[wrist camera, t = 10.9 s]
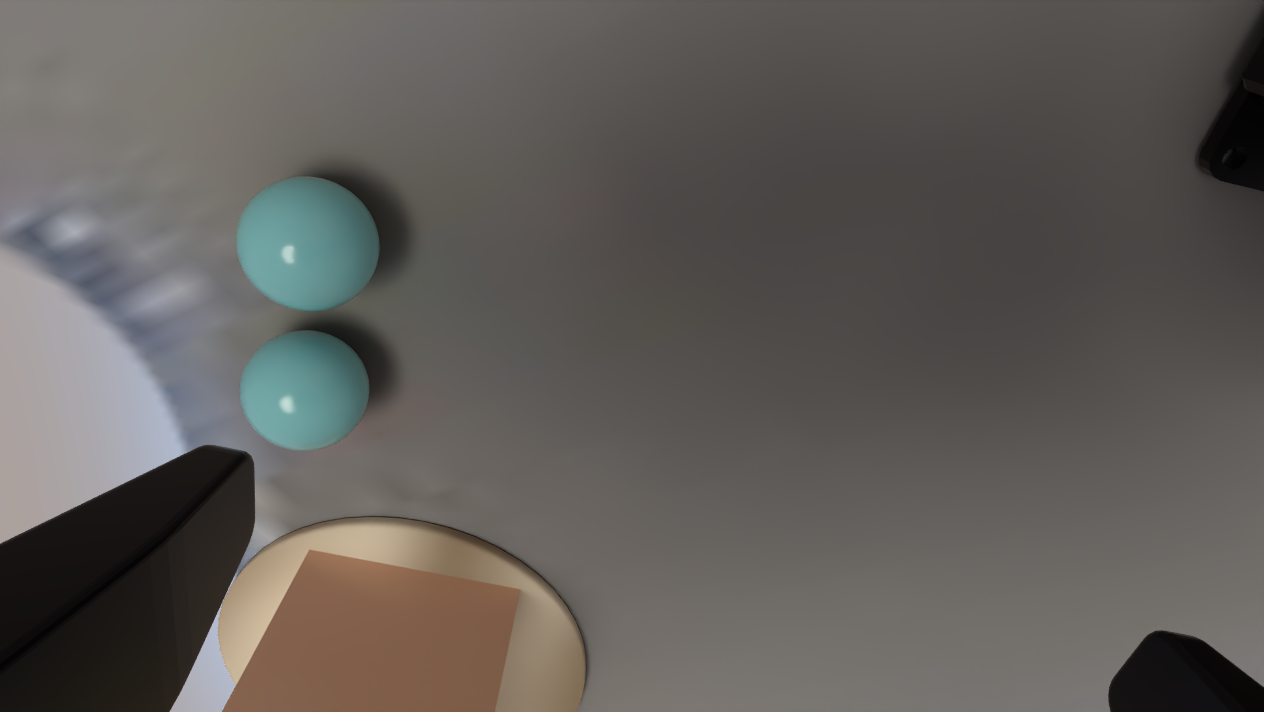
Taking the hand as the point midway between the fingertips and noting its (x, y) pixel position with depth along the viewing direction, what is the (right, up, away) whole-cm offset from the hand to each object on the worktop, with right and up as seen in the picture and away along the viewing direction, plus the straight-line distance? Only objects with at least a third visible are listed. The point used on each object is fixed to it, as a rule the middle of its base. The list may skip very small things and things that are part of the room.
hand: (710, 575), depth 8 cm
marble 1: (-8, +5, +12) cm, 15 cm away
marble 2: (-9, +2, +14) cm, 16 cm away
